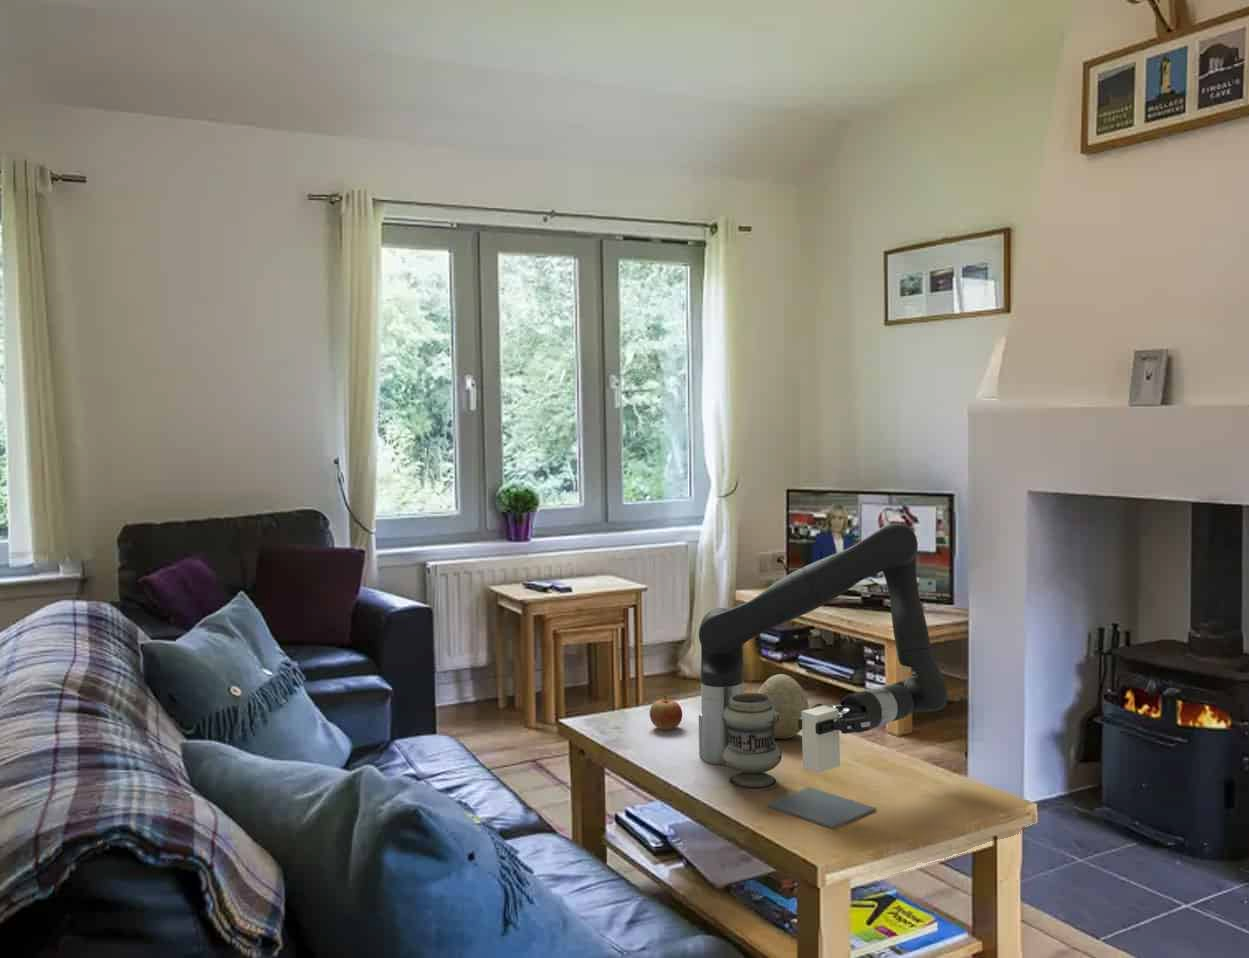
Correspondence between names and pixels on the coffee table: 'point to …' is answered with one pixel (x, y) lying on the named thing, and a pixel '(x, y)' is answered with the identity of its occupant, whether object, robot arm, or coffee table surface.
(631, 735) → the coffee table surface
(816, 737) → the tall cream pillar block
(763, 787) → the apothecary jar
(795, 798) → the mat
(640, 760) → the coffee table surface
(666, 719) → the apple
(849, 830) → the coffee table surface
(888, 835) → the coffee table surface
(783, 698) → the fossilized egg
